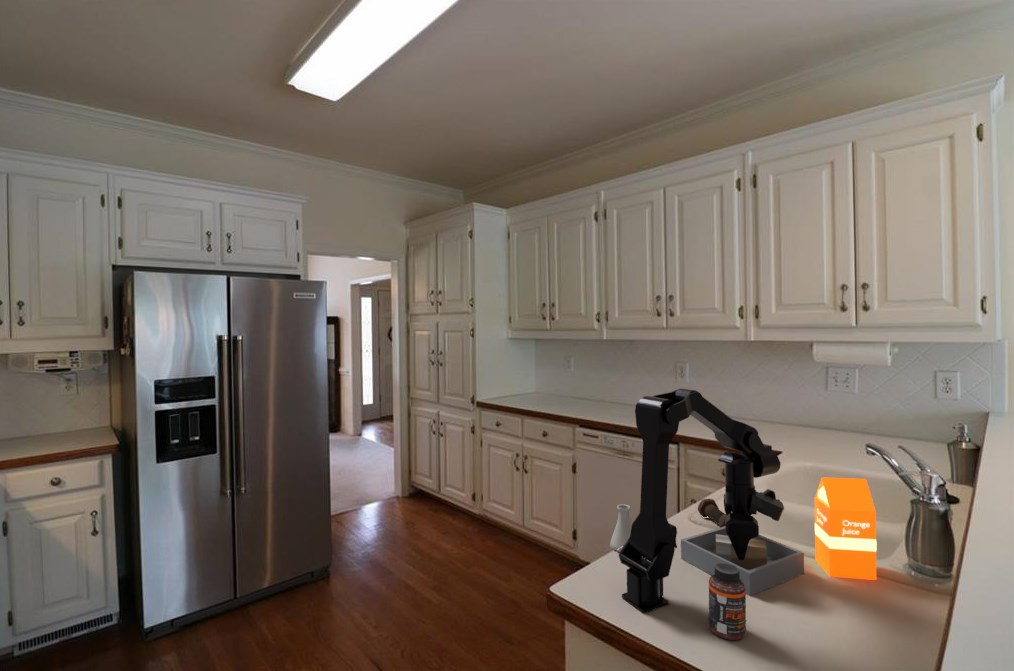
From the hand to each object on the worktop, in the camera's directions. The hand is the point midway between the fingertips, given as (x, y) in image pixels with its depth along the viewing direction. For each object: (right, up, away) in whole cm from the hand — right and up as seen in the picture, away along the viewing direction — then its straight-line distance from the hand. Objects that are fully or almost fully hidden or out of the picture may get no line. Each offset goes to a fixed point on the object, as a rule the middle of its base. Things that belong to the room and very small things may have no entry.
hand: (740, 550), depth 108 cm
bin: (0, -4, 0) cm, 4 cm away
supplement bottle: (-13, -5, -22) cm, 26 cm away
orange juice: (+22, -3, -2) cm, 22 cm away
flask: (-23, -4, +11) cm, 26 cm away
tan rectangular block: (0, -3, 0) cm, 3 cm away
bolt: (+5, -3, +21) cm, 22 cm away
